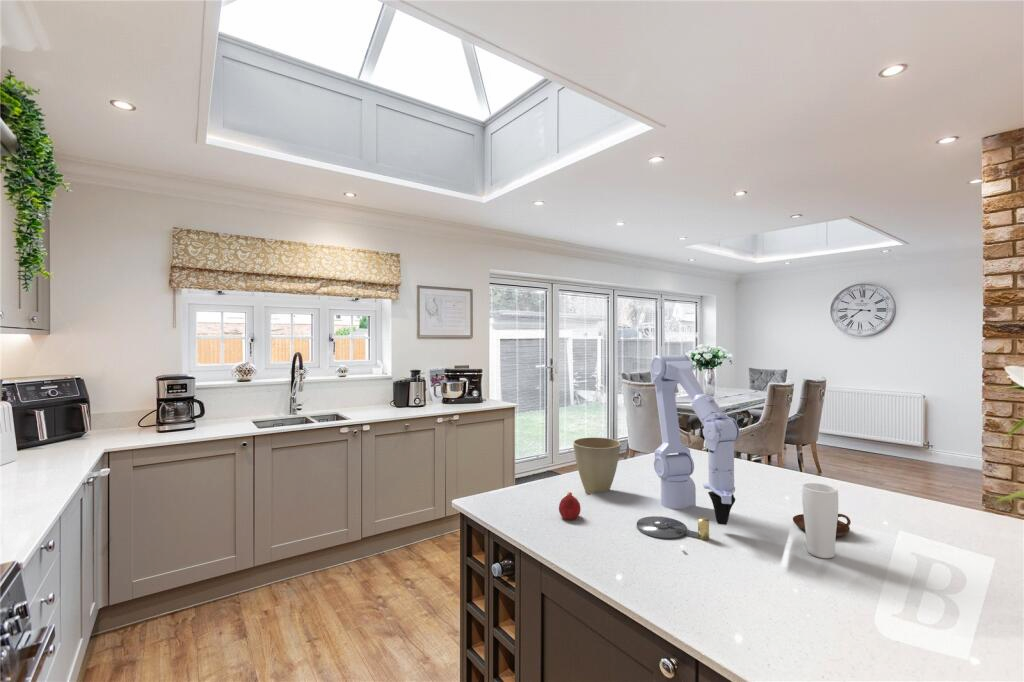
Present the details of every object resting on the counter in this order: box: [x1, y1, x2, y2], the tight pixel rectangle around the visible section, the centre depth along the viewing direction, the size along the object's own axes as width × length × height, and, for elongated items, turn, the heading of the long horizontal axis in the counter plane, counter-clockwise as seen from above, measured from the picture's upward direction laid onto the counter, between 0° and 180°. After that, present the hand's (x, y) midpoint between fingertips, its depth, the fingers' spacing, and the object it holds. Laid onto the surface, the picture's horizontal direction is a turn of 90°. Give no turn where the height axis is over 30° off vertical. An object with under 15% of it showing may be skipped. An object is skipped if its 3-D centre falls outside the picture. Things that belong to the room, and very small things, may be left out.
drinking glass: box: [801, 482, 839, 559], centre depth 105 cm, size 7×7×15 cm
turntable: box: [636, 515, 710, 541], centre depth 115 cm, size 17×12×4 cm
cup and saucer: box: [792, 513, 851, 537], centre depth 118 cm, size 12×12×6 cm
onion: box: [558, 491, 582, 521], centre depth 125 cm, size 6×6×8 cm
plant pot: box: [572, 436, 621, 495], centre depth 149 cm, size 15×15×16 cm
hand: (721, 523), depth 114 cm, fingers closed
